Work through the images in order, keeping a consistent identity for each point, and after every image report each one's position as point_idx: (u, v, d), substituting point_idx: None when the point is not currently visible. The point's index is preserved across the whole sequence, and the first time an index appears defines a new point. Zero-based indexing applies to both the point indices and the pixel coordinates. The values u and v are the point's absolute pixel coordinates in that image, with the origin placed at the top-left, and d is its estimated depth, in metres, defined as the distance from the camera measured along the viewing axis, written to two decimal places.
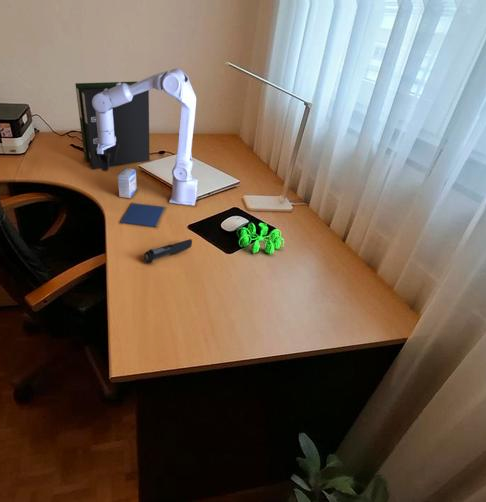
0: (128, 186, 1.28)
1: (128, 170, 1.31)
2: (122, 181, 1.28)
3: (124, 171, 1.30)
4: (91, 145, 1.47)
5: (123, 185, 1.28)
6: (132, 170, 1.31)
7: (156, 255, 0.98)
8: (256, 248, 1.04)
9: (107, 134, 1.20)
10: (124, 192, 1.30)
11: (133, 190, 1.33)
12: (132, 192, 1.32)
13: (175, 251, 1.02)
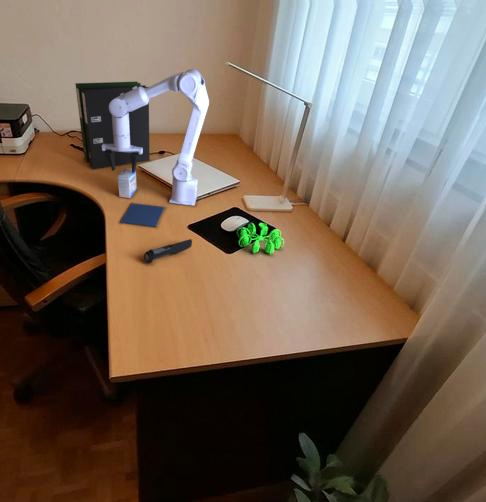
0: (128, 186, 1.28)
1: (128, 170, 1.31)
2: (122, 181, 1.28)
3: (124, 171, 1.30)
4: (91, 145, 1.47)
5: (123, 185, 1.28)
6: None
7: (156, 255, 0.98)
8: (256, 248, 1.04)
9: (113, 137, 1.21)
10: (124, 192, 1.30)
11: (133, 190, 1.33)
12: (132, 192, 1.32)
13: (175, 251, 1.02)
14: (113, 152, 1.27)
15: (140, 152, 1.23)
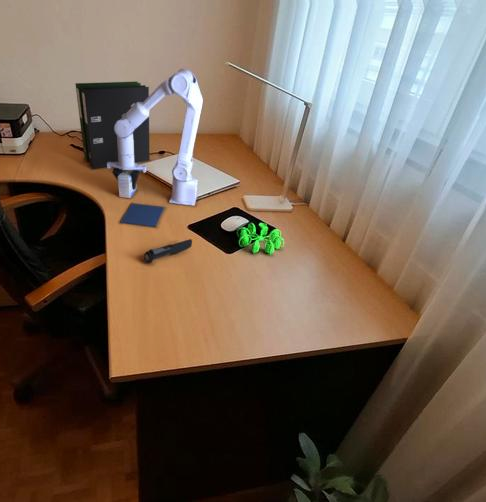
0: (128, 186, 1.28)
1: (128, 170, 1.31)
2: (122, 181, 1.28)
3: (124, 171, 1.30)
4: (91, 145, 1.47)
5: (123, 185, 1.28)
6: None
7: (156, 255, 0.98)
8: (256, 248, 1.04)
9: (118, 156, 1.25)
10: (124, 192, 1.30)
11: (133, 190, 1.33)
12: (132, 192, 1.32)
13: (175, 251, 1.02)
14: (121, 170, 1.30)
15: (144, 170, 1.27)
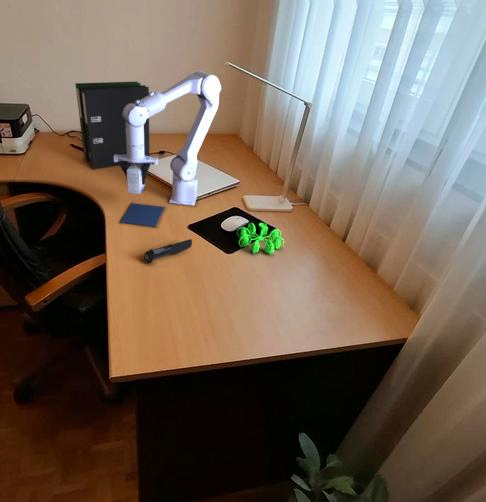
0: (138, 181, 1.16)
1: (137, 163, 1.18)
2: (131, 175, 1.15)
3: (132, 164, 1.18)
4: (91, 145, 1.47)
5: (133, 180, 1.16)
6: (141, 163, 1.19)
7: (156, 255, 0.98)
8: (256, 248, 1.04)
9: (127, 147, 1.12)
10: (134, 188, 1.17)
11: (142, 185, 1.21)
12: (142, 187, 1.20)
13: (175, 251, 1.02)
14: (129, 163, 1.18)
15: (156, 163, 1.15)
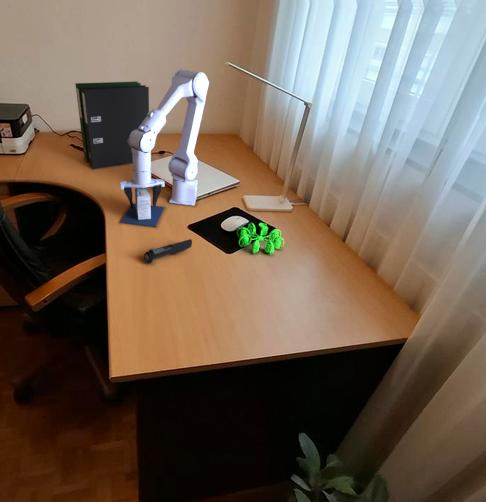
0: (149, 206, 1.16)
1: (141, 189, 1.17)
2: (142, 202, 1.14)
3: (138, 191, 1.16)
4: (91, 145, 1.47)
5: (143, 206, 1.15)
6: (145, 188, 1.18)
7: (156, 255, 0.98)
8: (256, 248, 1.04)
9: (135, 174, 1.10)
10: (144, 214, 1.17)
11: None
12: None
13: (175, 251, 1.02)
14: None
15: (163, 184, 1.16)
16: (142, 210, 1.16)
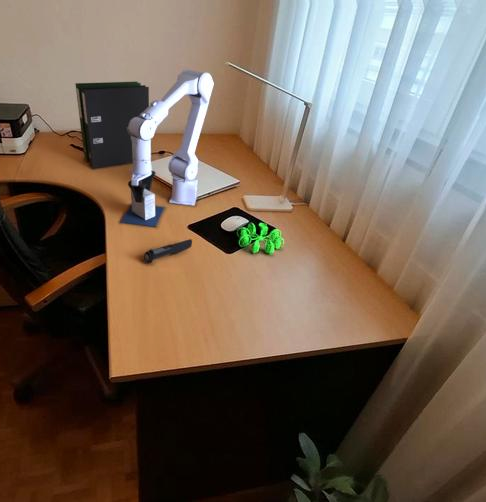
0: (154, 204, 1.17)
1: None
2: (149, 201, 1.15)
3: None
4: (91, 145, 1.47)
5: (149, 205, 1.16)
6: None
7: (156, 255, 0.98)
8: (256, 248, 1.04)
9: (143, 164, 1.08)
10: (150, 212, 1.17)
11: None
12: None
13: (175, 251, 1.02)
14: None
15: (151, 167, 1.18)
16: (149, 209, 1.16)
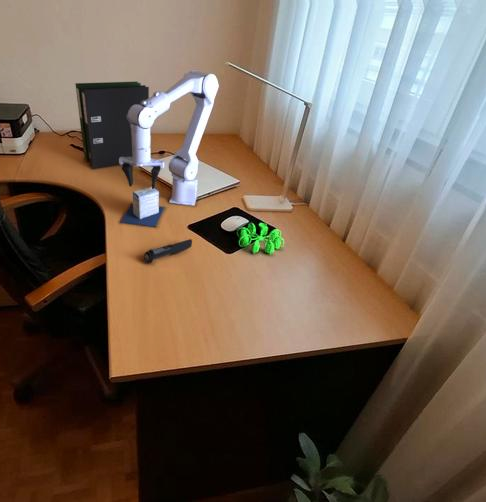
0: None
1: (141, 192, 1.15)
2: None
3: (146, 193, 1.15)
4: (91, 145, 1.47)
5: None
6: (137, 191, 1.16)
7: (156, 255, 0.98)
8: (256, 248, 1.04)
9: None
10: None
11: None
12: None
13: (175, 251, 1.02)
14: None
15: None
16: None
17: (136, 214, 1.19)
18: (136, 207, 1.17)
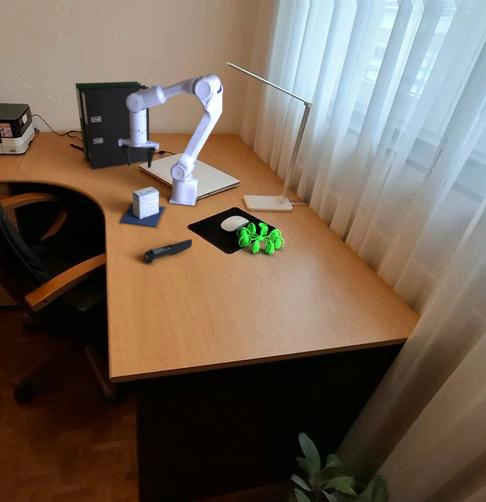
0: None
1: (141, 192, 1.15)
2: None
3: (146, 193, 1.15)
4: (91, 145, 1.47)
5: None
6: (137, 191, 1.16)
7: (156, 255, 0.98)
8: (256, 248, 1.04)
9: None
10: None
11: None
12: None
13: (175, 251, 1.02)
14: None
15: None
16: None
17: (136, 214, 1.19)
18: (136, 207, 1.17)
